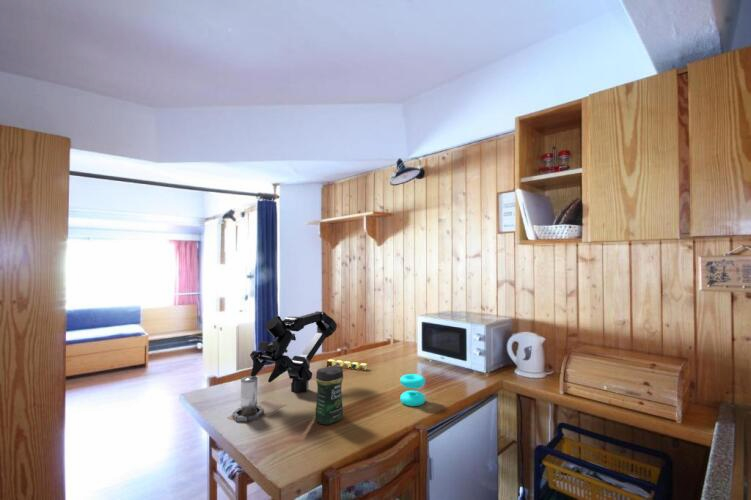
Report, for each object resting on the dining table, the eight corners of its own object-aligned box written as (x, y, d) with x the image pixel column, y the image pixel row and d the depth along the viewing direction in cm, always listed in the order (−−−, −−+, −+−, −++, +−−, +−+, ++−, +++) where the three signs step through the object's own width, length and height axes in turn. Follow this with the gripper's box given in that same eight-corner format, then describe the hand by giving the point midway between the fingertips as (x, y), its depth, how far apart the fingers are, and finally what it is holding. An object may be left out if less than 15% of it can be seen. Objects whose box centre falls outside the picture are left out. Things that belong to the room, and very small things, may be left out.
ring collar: (267, 410, 128) (267, 406, 128) (255, 422, 118) (255, 417, 118) (241, 409, 129) (241, 405, 129) (227, 421, 119) (228, 416, 119)
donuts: (429, 379, 136) (407, 382, 132) (430, 404, 135) (407, 409, 131) (417, 371, 145) (395, 374, 141) (417, 395, 145) (396, 399, 141)
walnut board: (266, 402, 138) (266, 399, 138) (287, 407, 133) (287, 404, 133) (226, 421, 122) (226, 417, 122) (247, 428, 116) (247, 424, 116)
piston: (259, 412, 126) (260, 376, 127) (252, 418, 121) (253, 381, 121) (244, 411, 127) (245, 375, 127) (237, 418, 121) (238, 380, 122)
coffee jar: (326, 427, 116) (326, 372, 117) (311, 420, 122) (312, 367, 123) (347, 418, 123) (347, 366, 124) (332, 412, 129) (332, 362, 130)
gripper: (253, 330, 138) (230, 365, 128) (288, 334, 129) (266, 372, 119) (268, 345, 145) (247, 380, 135) (302, 350, 136) (282, 388, 126)
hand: (259, 380), depth 129 cm, fingers open, 9 cm apart
